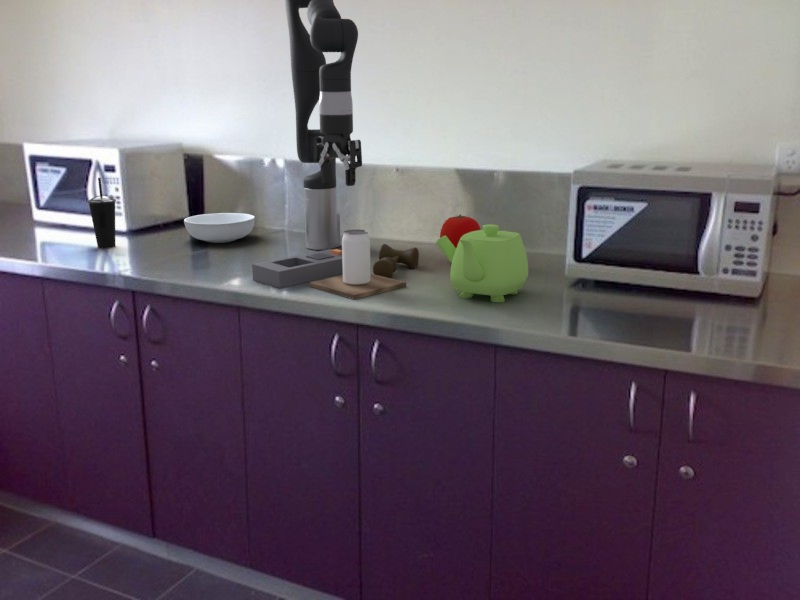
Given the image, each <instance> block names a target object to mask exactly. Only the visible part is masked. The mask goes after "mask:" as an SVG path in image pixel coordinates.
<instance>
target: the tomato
mask: <svg viewBox="0 0 800 600" xmlns="http://www.w3.org/2000/svg"><path fill="white" fill-rule="evenodd" d="M477 230H482V228H481V226H480V224H479V222H478V221H477V220H476V219H474V218H472V217H470V216H467V215H462V214H458V215H456V216H451V217H448V218H447V219H445V221H444V222H443V224H442V226H441V228H440V231H439V232H440V233H439V239H440V238H441V237H443V236H445V235H446V236H447V238H448V239H449V240H450V242H451V243H452V244H453V245H454V247H455V248H457V245H458V243H459V240H460V238H461V237H462V236H463V235H465V234H467V233H469V232H473V231H477Z"/></svg>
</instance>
